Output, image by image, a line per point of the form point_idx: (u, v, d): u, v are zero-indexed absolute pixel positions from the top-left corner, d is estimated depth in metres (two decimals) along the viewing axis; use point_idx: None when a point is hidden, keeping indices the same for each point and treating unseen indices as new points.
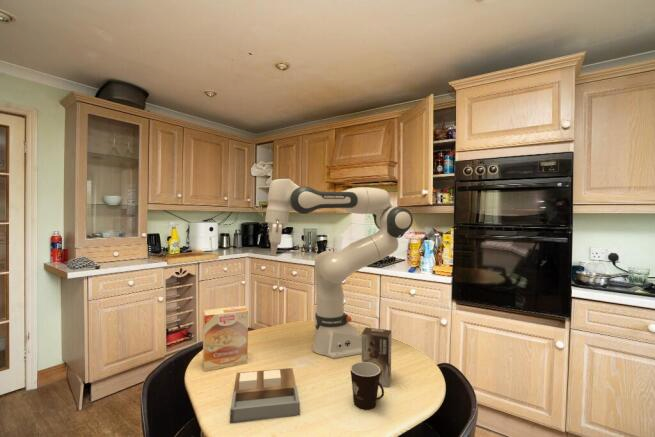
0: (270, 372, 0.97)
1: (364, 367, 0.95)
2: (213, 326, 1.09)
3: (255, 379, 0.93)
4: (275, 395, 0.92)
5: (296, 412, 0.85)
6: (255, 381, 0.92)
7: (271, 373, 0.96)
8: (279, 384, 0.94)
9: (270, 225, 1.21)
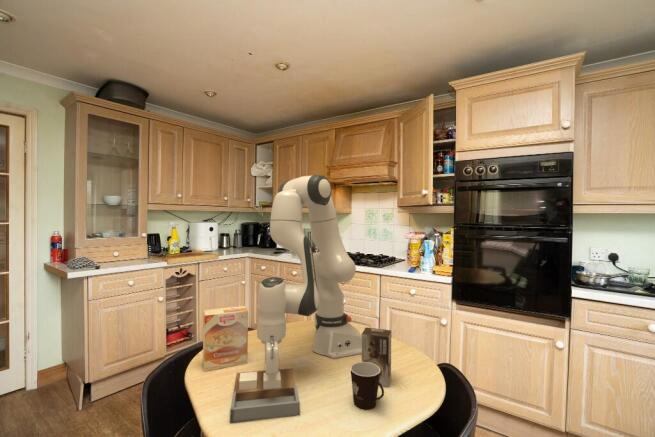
0: None
1: (364, 367, 0.95)
2: (213, 326, 1.09)
3: (255, 379, 0.93)
4: (275, 395, 0.92)
5: (296, 412, 0.85)
6: (255, 381, 0.92)
7: (271, 375, 0.95)
8: (279, 386, 0.93)
9: (264, 342, 0.96)
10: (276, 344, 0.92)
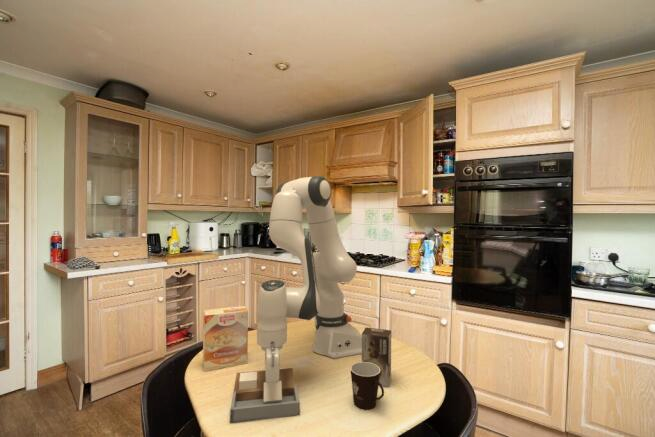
0: (271, 386, 0.90)
1: (364, 367, 0.95)
2: (213, 326, 1.09)
3: (255, 379, 0.93)
4: None
5: (296, 412, 0.85)
6: (255, 381, 0.92)
7: (271, 389, 0.89)
8: (280, 402, 0.89)
9: (264, 348, 0.91)
10: (277, 351, 0.88)
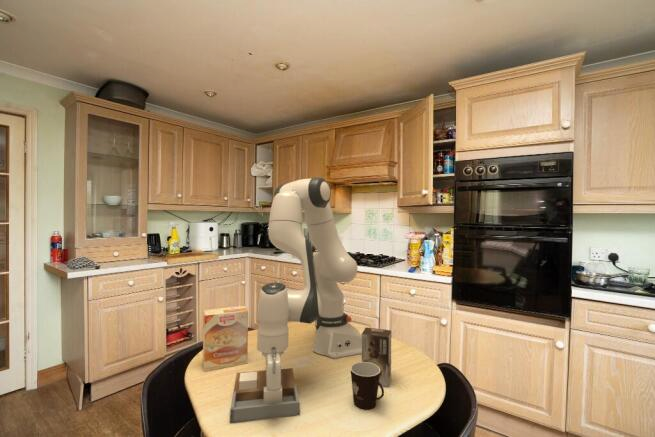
0: (271, 395, 0.86)
1: (364, 367, 0.95)
2: (213, 326, 1.09)
3: (255, 379, 0.93)
4: None
5: (296, 412, 0.85)
6: (255, 381, 0.92)
7: (272, 398, 0.87)
8: None
9: (264, 354, 0.88)
10: (278, 357, 0.84)
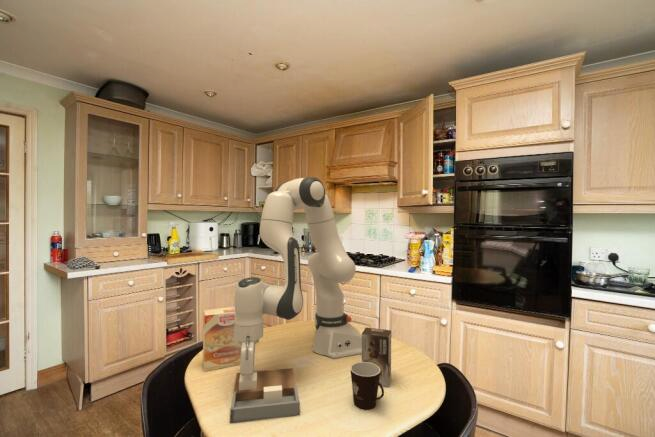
0: (271, 395, 0.86)
1: (364, 367, 0.95)
2: (213, 326, 1.09)
3: (255, 380, 0.92)
4: None
5: (296, 412, 0.85)
6: (255, 382, 0.92)
7: (272, 398, 0.87)
8: None
9: (240, 343, 0.95)
10: (252, 345, 0.92)
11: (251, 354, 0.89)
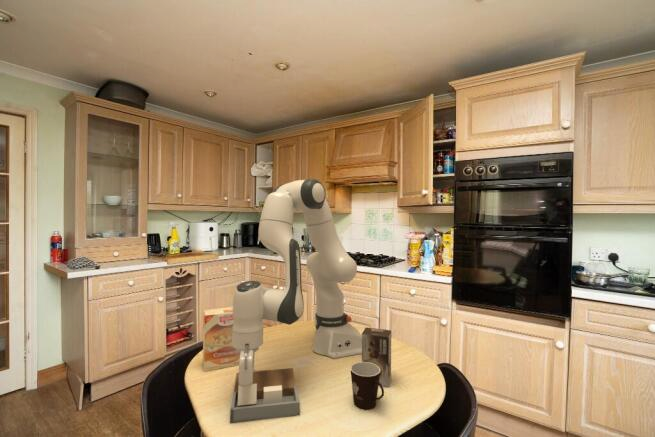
0: (271, 395, 0.86)
1: (364, 367, 0.95)
2: (213, 326, 1.09)
3: (255, 402, 0.87)
4: None
5: (296, 412, 0.85)
6: (255, 404, 0.87)
7: (272, 398, 0.87)
8: None
9: (239, 351, 0.90)
10: (251, 353, 0.86)
11: (250, 363, 0.83)
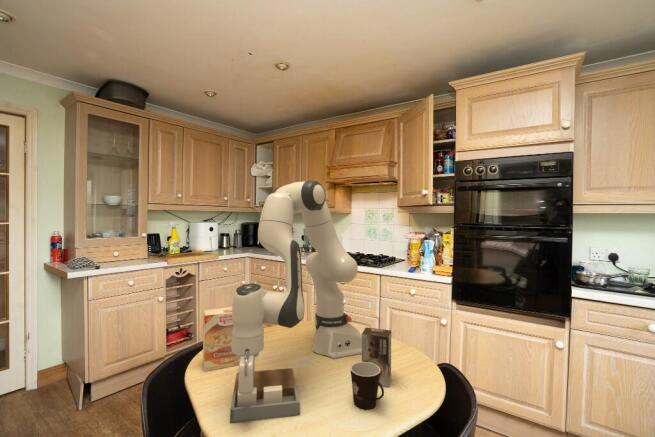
0: (271, 395, 0.86)
1: (364, 367, 0.95)
2: (213, 326, 1.09)
3: None
4: None
5: (296, 412, 0.85)
6: None
7: (272, 398, 0.87)
8: None
9: (238, 356, 0.86)
10: (251, 359, 0.83)
11: (250, 370, 0.80)
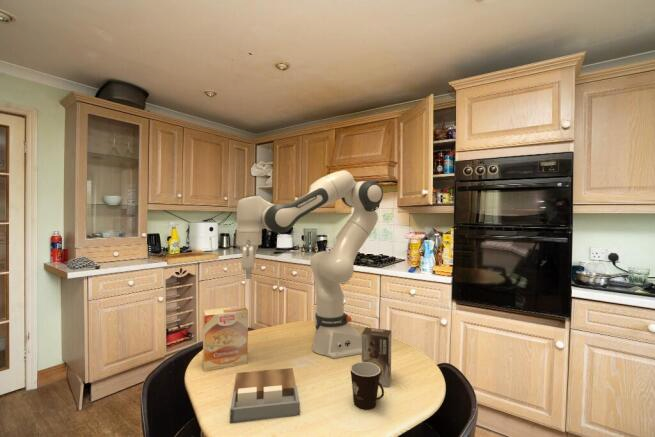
0: (271, 395, 0.86)
1: (364, 367, 0.95)
2: (213, 326, 1.09)
3: None
4: None
5: (296, 412, 0.85)
6: None
7: (272, 398, 0.87)
8: None
9: (242, 248, 1.11)
10: (252, 246, 1.07)
11: (251, 252, 1.04)
